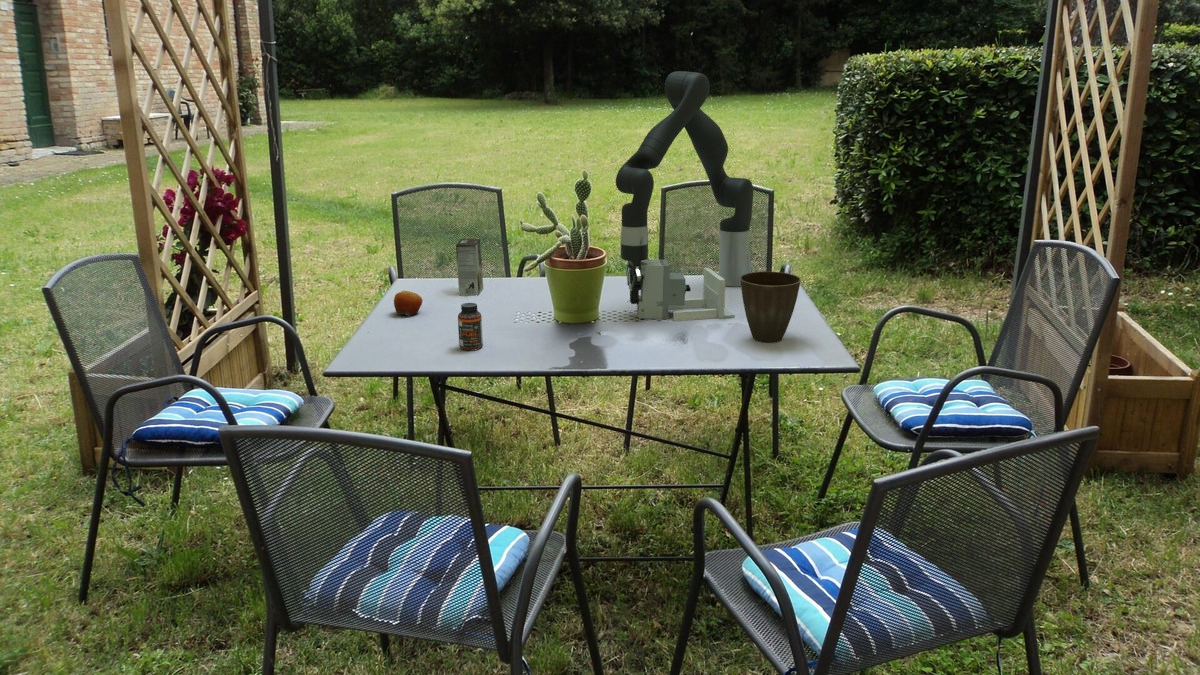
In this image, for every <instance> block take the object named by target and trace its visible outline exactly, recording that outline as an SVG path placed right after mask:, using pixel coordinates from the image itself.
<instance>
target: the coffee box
mask: <svg viewBox="0 0 1200 675" xmlns="http://www.w3.org/2000/svg"><path fill="white" fill-rule="evenodd" d="M481 245H482V244H481V238H460V239H459V240H458V242H457V243H456V244H455V249H456V250H455V252H456V262H457V263H456V264H457V265H456V266H457V280H458V282H457V283H458V284H457V285H458V295H459V297H461V296H462V297H464V296H466V297H467V296H470V297H471V296H475V297H478V295H479V296H480V294H481V293H482V292H483V290H484V279H483V278H484V277H483V276H484V275H483V262H482V261H483V260H482V258H483V257H482V246H481ZM476 295H477V296H476Z"/></svg>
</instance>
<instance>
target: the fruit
mask: <svg viewBox="0 0 1200 675" xmlns="http://www.w3.org/2000/svg"><path fill="white" fill-rule="evenodd" d="M422 304H423V298H422V296H421V295H419V294H418V293H417V292H413V291H409V290H402V291H400V292H397V293H395V295H394V298H393V307H394V308H395V312H396V315H397V316H401V315H406V316H407V317H409V318H410V315H415V314H418V313H419V310H420V308H421V306H422Z"/></svg>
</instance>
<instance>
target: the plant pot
mask: <svg viewBox="0 0 1200 675" xmlns="http://www.w3.org/2000/svg"><path fill="white" fill-rule="evenodd" d="M740 279H741V286H740V288H741V295H742V296H741V297H742V302H743V308H744V312H745V316H746V320H747V324H748V329H749V330H750V333H751V337H752V339H753V340H754V341H756V342H759V343H766V344H774V343H778V342H781V341H782V340H783V338H784V336H785V334H786V332H787V329H788V326H789V324H790V321H791V319H792V316H793V313H794V310H795V306H796V302H797V299H798V296H799V290H800V286H801V277H799V276H798V275H795V274H792V273H787V272H781V271H768V270H767V271H754V272H752V271H751V273H747V274H744V275H742V276H741V277H740Z"/></svg>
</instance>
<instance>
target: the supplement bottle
mask: <svg viewBox="0 0 1200 675" xmlns="http://www.w3.org/2000/svg"><path fill="white" fill-rule="evenodd" d="M460 309H461V311H460V312H459V313H458V314H457V326H458V327H457V328H458V344H459V348H460V349H462V350H463V349H464V350H463V351H476V350H475V349H477V350H479V349H482V348H483V345H484V343H483V342H484V340H483V339H484V338H483V323H482V322H483V321H482V320H483V319H482V313H481V312H480V311H479V310H478V304H477V303H476V302H465V303H462V304H461V305H460Z"/></svg>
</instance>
